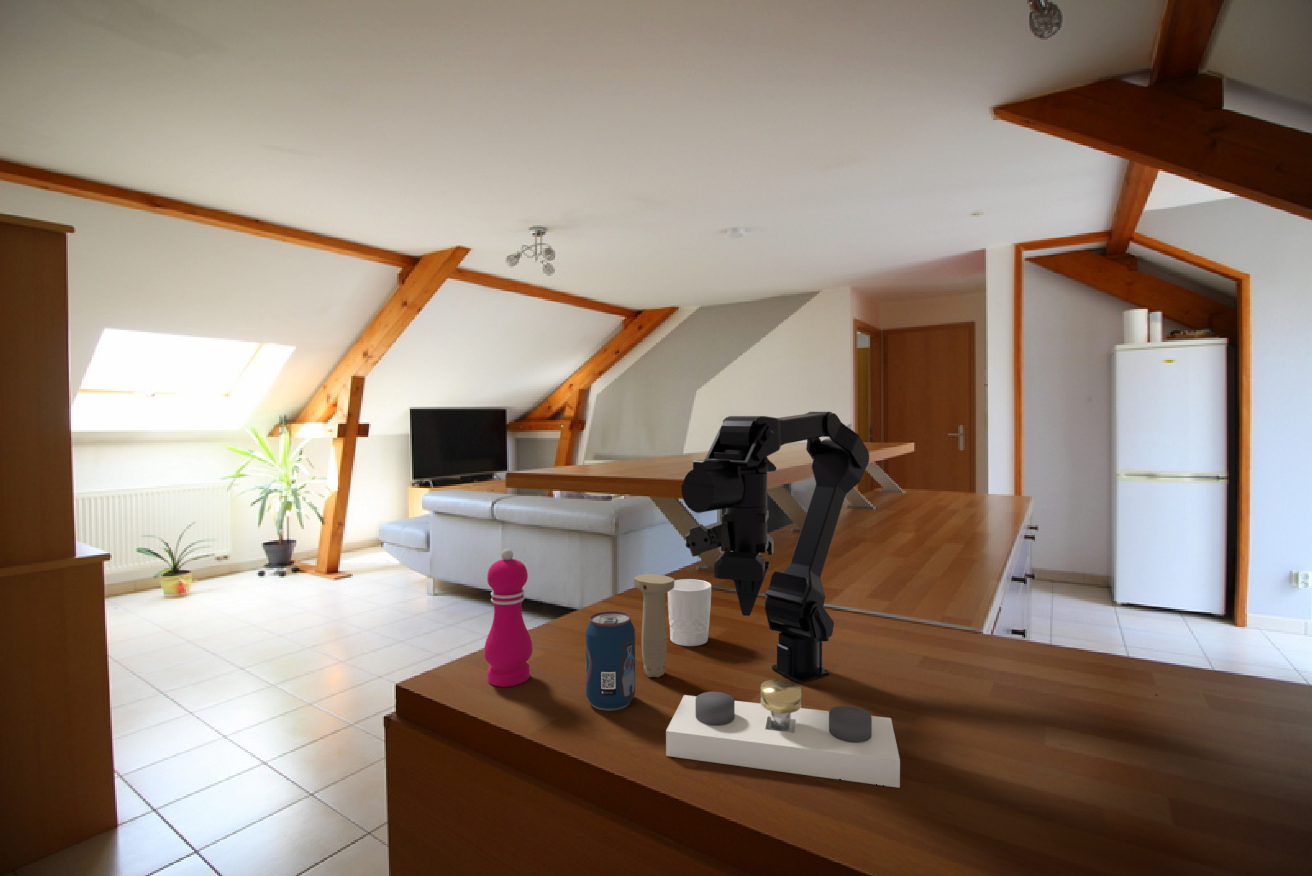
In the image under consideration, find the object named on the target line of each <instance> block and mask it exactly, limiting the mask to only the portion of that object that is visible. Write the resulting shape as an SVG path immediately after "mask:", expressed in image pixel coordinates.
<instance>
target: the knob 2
mask: <svg viewBox="0 0 1312 876" xmlns="http://www.w3.org/2000/svg"><path fill="white" fill-rule="evenodd" d="M828 711H829V732H830V733H831V734H832V735H833V736H834V737H836V738H838V739H840V740H843V741H847V742H864V741H867V740H869V739H870V738H871V736H872V717H871V716H872V715H871V713H869V712H868V711H867V710H865V709H862V708H861V707H860V708H859V707H857V706H856V707H855V706H851V705H838V706H834V707H831V708H830V709H829V710H828Z"/></svg>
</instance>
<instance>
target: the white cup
mask: <svg viewBox="0 0 1312 876" xmlns="http://www.w3.org/2000/svg"><path fill="white" fill-rule="evenodd" d="M711 601H712V584H711V582H709V581H705V580H702V579H701V580H700V579H694V578H693V579H692V578H685V579H684V578H683V579H676V580H675V579H674V588H673V589H672V590H670V591H668V592H667V611H668V623H669V638H670V639H669V640H670V641H671V642H672V643H673V644H675V645H678V646H683V647H697V646H702V645H704V644H706V643H707V642H708V639H709V629H710V628H709V626H710V619H711V617H710V616H711V604H712V602H711Z"/></svg>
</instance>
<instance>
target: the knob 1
mask: <svg viewBox="0 0 1312 876" xmlns="http://www.w3.org/2000/svg"><path fill="white" fill-rule="evenodd" d="M735 701H736V700H735V699H734V697H733V696H732V695H730V694H728V693H725V692H720V691H705V692H703V693H700V694H698V695H697V697H696V718H697V720H699V721H700V722H702V723H705V724H708V725H725V724H728V723H730V722H732V721H733V720H734V717H735Z"/></svg>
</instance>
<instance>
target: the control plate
mask: <svg viewBox="0 0 1312 876" xmlns="http://www.w3.org/2000/svg"><path fill="white" fill-rule="evenodd" d="M697 696H698V695H697ZM697 696H695V695H687V694H683V696H682V699H681V701H680V703H679V704H678V706H677V708H676V711H675V712H674V715H672V719H671V720H670V722H669V724H668V726H667V728H666V730H665V756H666V757H673V758H680V759H686V760H687V759H688V760H693V761H701V762H708V763H716V764H724V765H731V766H736V767H737V766H739V767H745V768H752V769H760V770H766V771H767V770H768V771H774V772H781V773H782V772H783V773H787V774H788V773H789V774H796V775H804V776H805V775H806V776H811V777H816V778H817V777H819V778H825V779H833V780H839V779H841V780H842V781H847V782H855V783H862V784H870V785H876V784H877V786H883V785H884V787H892V788H898V789H900V787H901V779H900V778H901V759H900V758H901V757H900V754H899V749H898V745H897V741H896V740H897V739H896V736H895V732H894V730H895V729H894V725H893V721H892V718H891V717H885V716H875V715H871V717H872V736H871V738H870V739H869V740H867V741H864V742H847V741H843V740H840V739H838V738H836V737H834V736H833V735H832V734H831V733H830V732H829V711H830V710H821V709H814V708H813V709H812V708H803V707H801V708H800V709H799V710H798V711H796V712H792V713H791V728H790V729H789V730H787V731H778V730H775V729H773V728H772V727H771V711H769V710H767V709H765V708H764V707H762V705H761V702H759V703H758V702H750V701H740V700H734V701H735V717H734V720H733V721H732V722H730V723H728V724H725V725H708V724H705V723H702V722H700V721H699V720H697V718H696V697H697ZM841 780H840V781H841Z"/></svg>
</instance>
